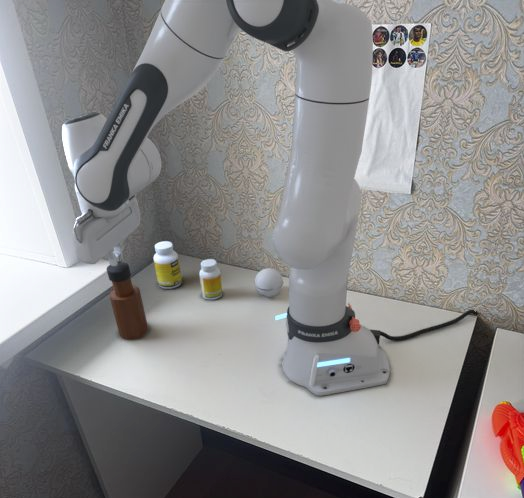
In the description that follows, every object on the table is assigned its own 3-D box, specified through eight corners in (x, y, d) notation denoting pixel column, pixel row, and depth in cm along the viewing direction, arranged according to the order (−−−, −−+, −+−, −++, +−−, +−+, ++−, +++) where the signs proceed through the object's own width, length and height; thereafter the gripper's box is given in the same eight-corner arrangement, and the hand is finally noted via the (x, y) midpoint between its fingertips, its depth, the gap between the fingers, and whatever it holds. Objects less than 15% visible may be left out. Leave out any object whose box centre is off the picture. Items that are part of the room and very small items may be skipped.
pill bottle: (171, 292, 134) (164, 252, 127) (153, 286, 137) (145, 247, 130) (187, 281, 138) (181, 242, 131) (169, 275, 141) (162, 237, 134)
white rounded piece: (249, 296, 130) (247, 271, 126) (267, 284, 135) (266, 260, 130) (280, 308, 125) (279, 283, 121) (297, 295, 130) (297, 270, 125)
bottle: (150, 322, 123) (138, 268, 114) (145, 339, 117) (132, 283, 108) (122, 324, 123) (108, 269, 114) (116, 340, 117) (101, 285, 108)
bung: (134, 277, 114) (130, 261, 111) (130, 288, 110) (126, 271, 108) (113, 278, 114) (109, 262, 111) (108, 289, 110) (104, 273, 108)
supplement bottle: (198, 294, 132) (193, 262, 126) (214, 287, 135) (211, 255, 129) (209, 302, 129) (205, 269, 123) (226, 295, 131) (223, 262, 125)
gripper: (86, 223, 92) (104, 288, 100) (139, 184, 107) (151, 244, 116) (57, 220, 93) (77, 285, 102) (113, 182, 109) (126, 241, 117)
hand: (116, 262), depth 109 cm, fingers closed
